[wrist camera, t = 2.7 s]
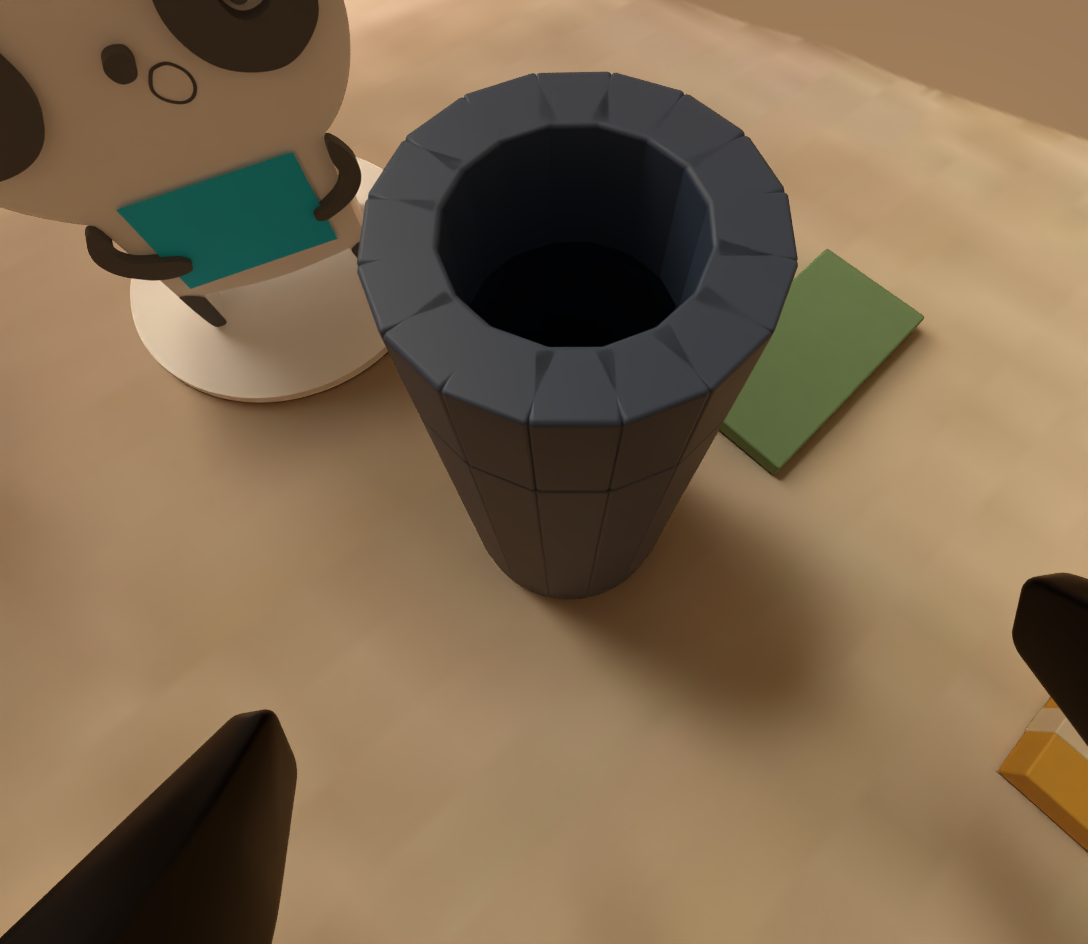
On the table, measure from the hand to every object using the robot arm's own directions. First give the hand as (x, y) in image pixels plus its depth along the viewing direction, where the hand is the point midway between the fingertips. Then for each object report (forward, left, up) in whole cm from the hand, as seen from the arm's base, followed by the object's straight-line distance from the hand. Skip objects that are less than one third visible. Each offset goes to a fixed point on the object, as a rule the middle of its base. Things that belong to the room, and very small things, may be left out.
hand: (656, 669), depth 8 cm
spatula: (+6, -13, -12) cm, 19 cm away
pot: (+5, -3, -12) cm, 13 cm away
